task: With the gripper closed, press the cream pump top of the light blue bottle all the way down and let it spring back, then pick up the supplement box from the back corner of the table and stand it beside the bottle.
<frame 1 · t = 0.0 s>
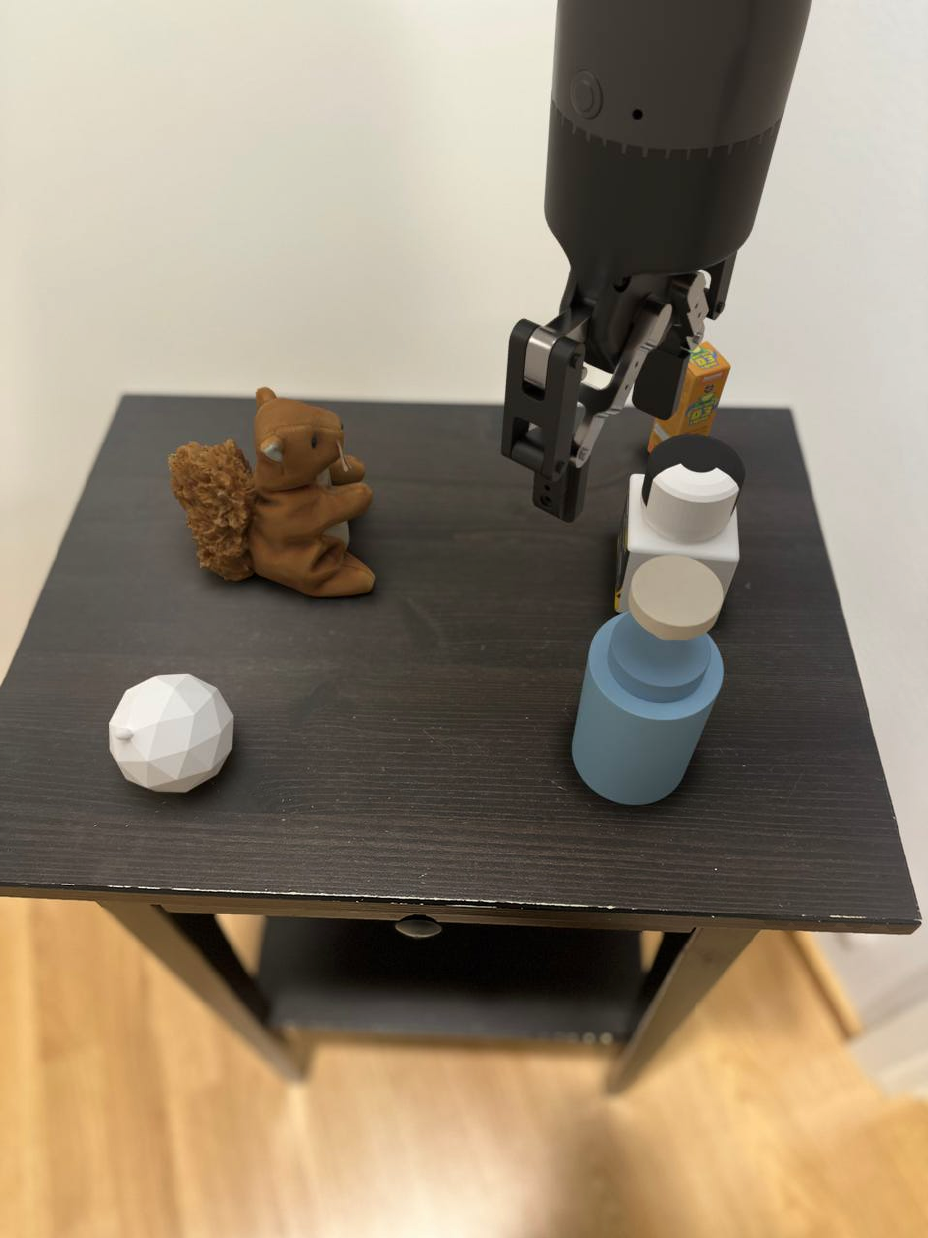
hand: (607, 458, 41), 21 cm above the table, tool pointing down, fingers open, 8 cm apart
stuffed squirrel: (287, 555, 65), on the table
ornament: (188, 760, 55), on the table
pump top: (671, 609, 43), point 15 cm above the table, slide at 0.1 cm
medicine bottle: (664, 582, 63), on the table
supplement box: (674, 460, 71), on the table
pump bottle: (628, 752, 55), on the table
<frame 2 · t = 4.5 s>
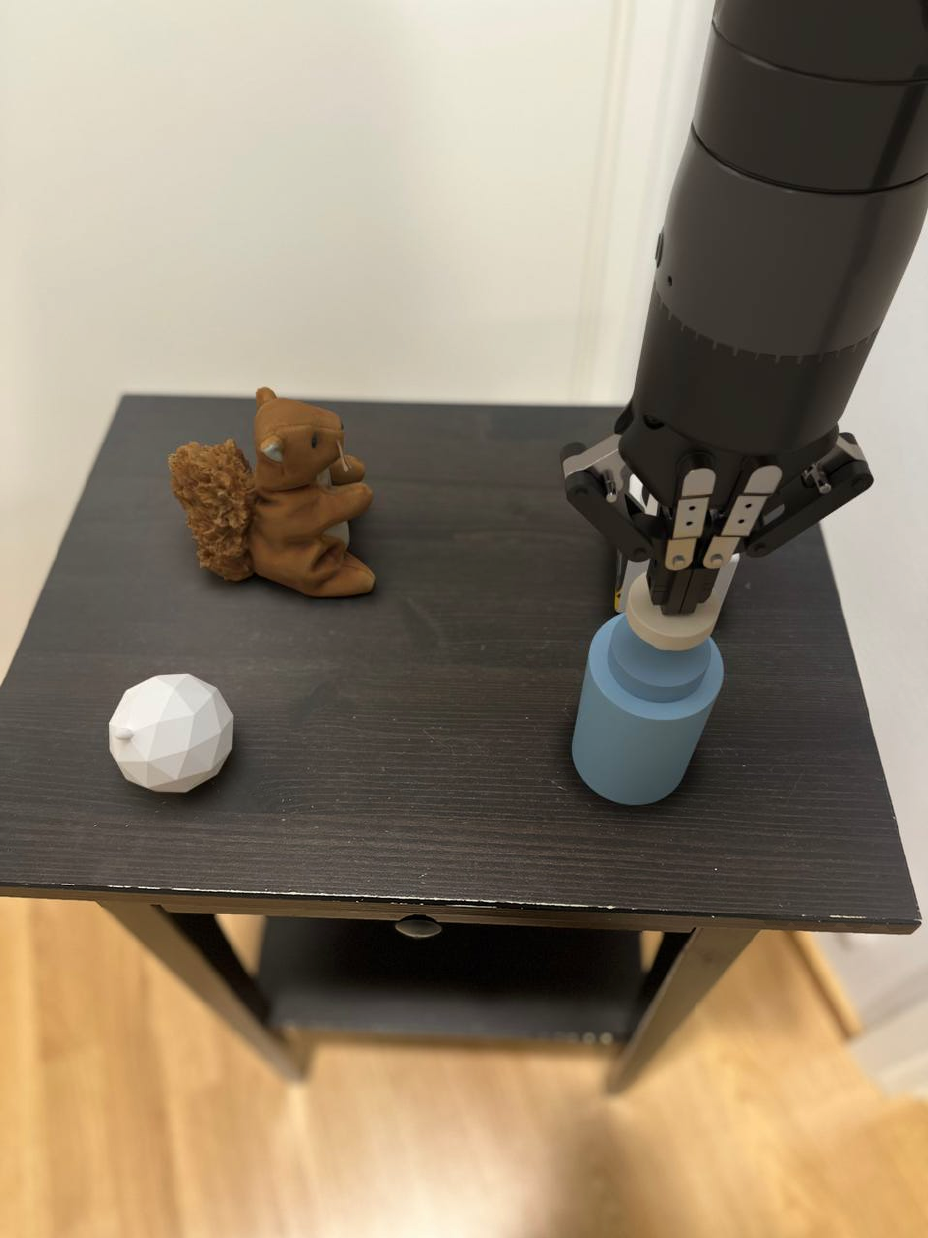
hand: (674, 600, 42), 16 cm above the table, tool pointing down, fingers closed
pump top: (668, 619, 44), point 14 cm above the table, slide at -0.8 cm, touching gripper
everything else where it was.
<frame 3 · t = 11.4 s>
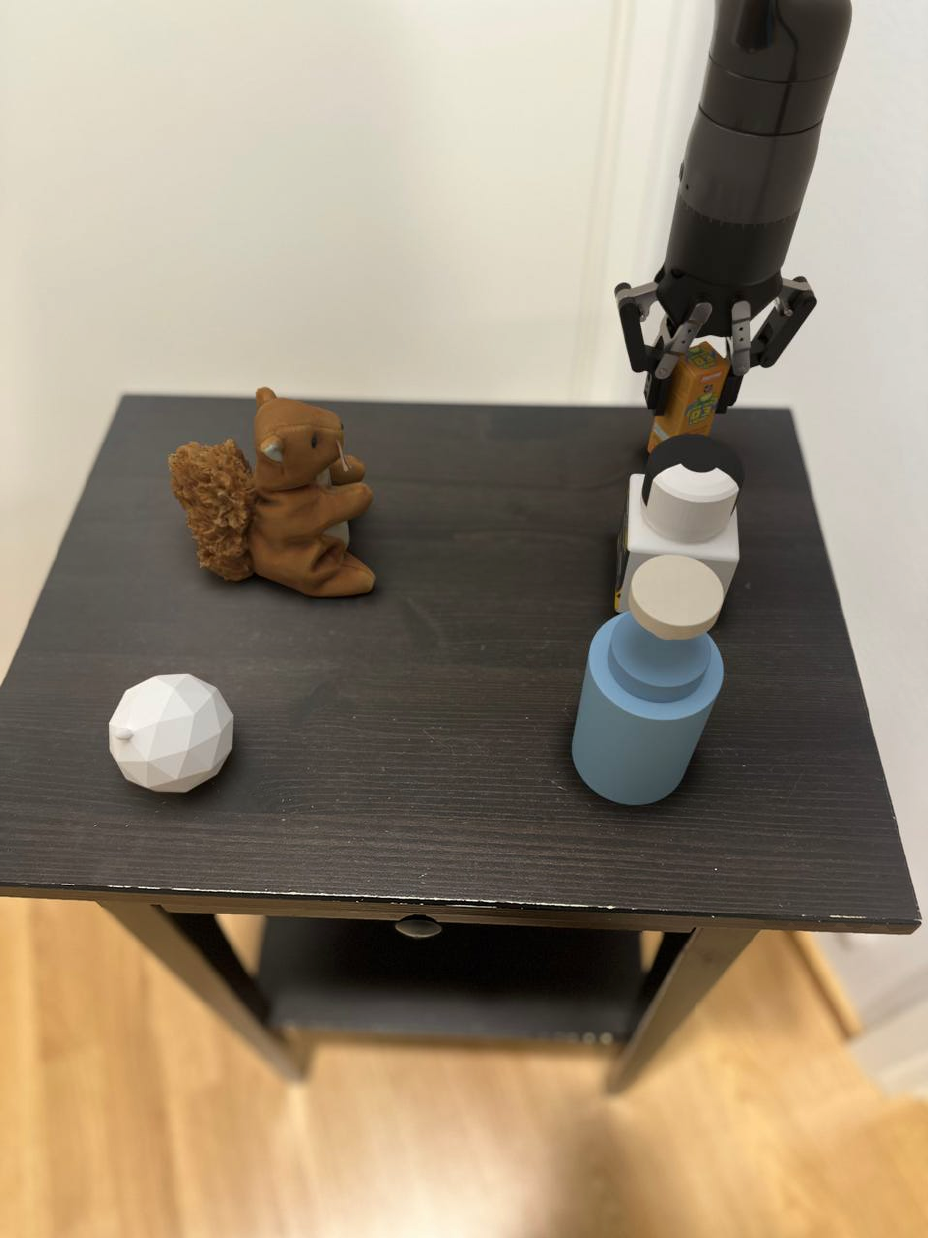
hand: (687, 407, 67), 5 cm above the table, tool pointing down, fingers closed on supplement box, 4 cm apart
pump top: (671, 608, 43), point 15 cm above the table, slide at 0.1 cm
supplement box: (674, 460, 71), on the table, touching gripper
everything else where it was.
when the fingers open (5 cm above the table, at t = 18.3 s): supplement box stays where it is, on the table.
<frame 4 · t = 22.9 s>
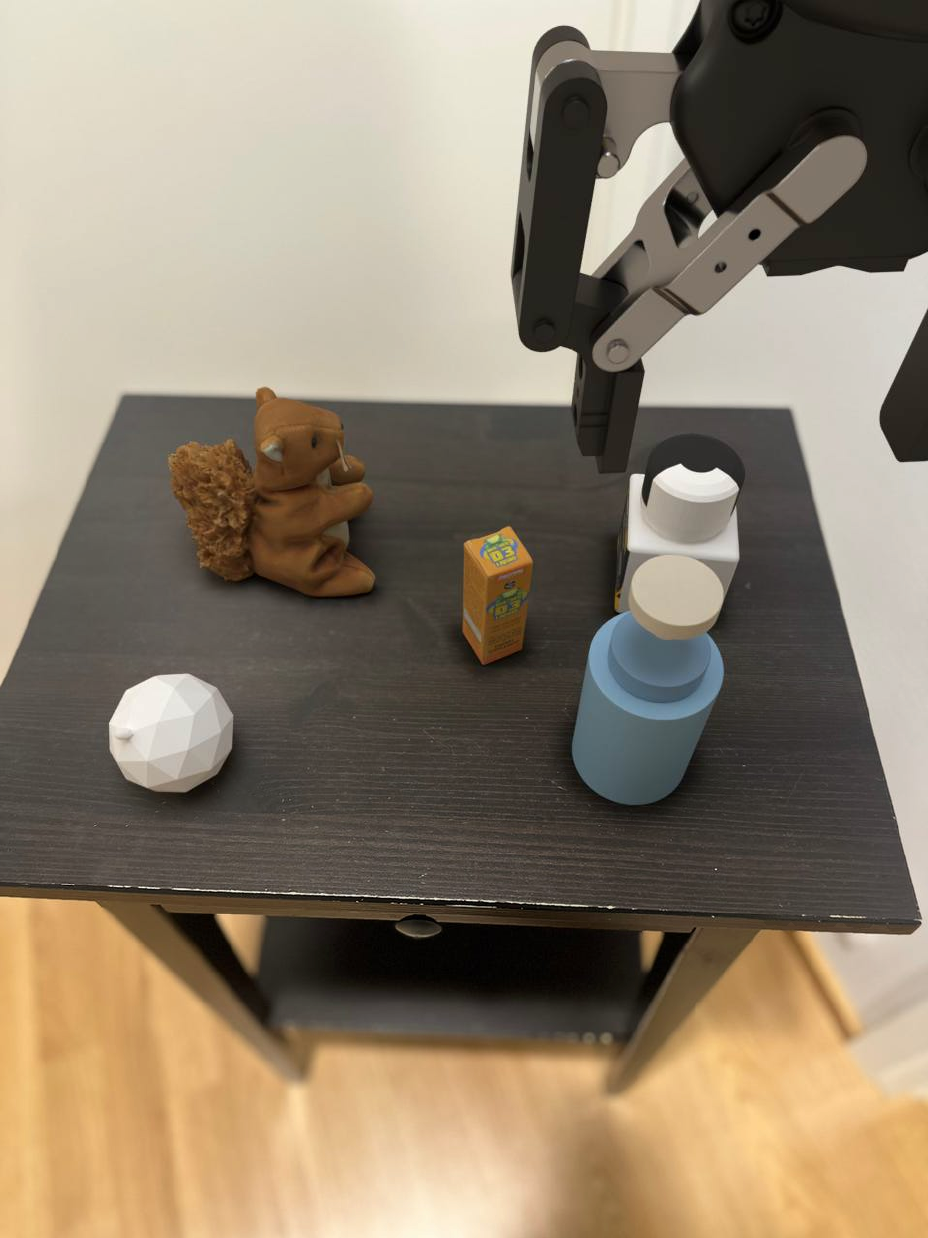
hand: (754, 448, 25), 32 cm above the table, tool pointing down, fingers open, 8 cm apart
supplement box: (493, 644, 60), on the table
everything else where it was.
at the end: pump top pushed in 1.3 cm at the most during the clip, back to where it started at the end; pump top slide at 0.1 cm; supplement box 0.1 cm from the target spot under the pump top, point -12.3 cm above the pump top's base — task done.
